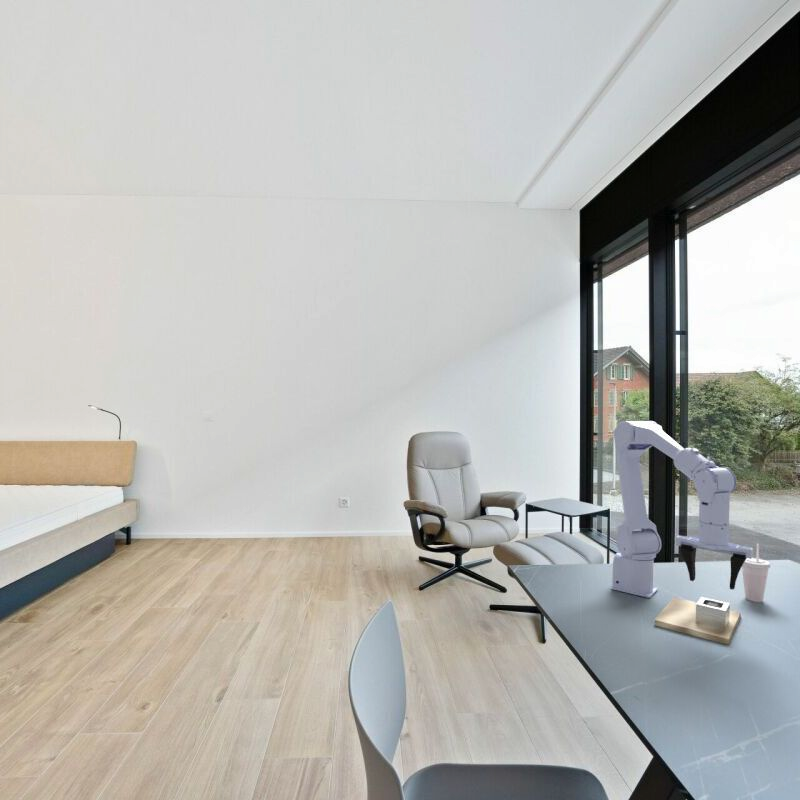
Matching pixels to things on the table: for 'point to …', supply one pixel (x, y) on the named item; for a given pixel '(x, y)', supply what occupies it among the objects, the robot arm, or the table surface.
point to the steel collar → (712, 613)
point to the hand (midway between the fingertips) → (711, 583)
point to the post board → (694, 621)
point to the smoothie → (755, 577)
